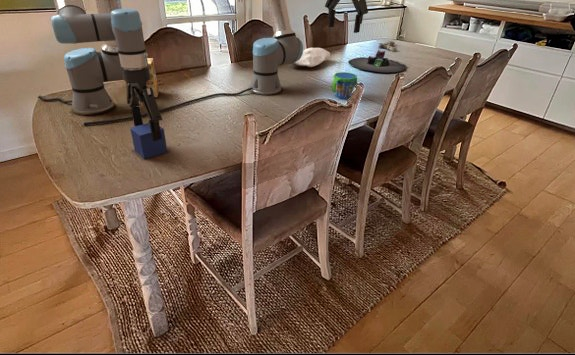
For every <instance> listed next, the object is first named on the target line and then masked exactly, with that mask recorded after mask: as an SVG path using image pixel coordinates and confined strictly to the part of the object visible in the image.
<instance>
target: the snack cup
mask: <svg viewBox="0 0 575 355" xmlns="http://www.w3.org/2000/svg"><path fill="white" fill-rule="evenodd" d="M333 78H334V79H333V81H332V83H331V88H330V91H331V92H332V93H335V97H337V98H339V99H345V100H347V99H350V98H351V97H350V95H351V93H352V94H353V91H354V88H356V87H355V85H356V84H357V85H358V76H357V74H354V73H352V72H345V71H343V72H342V71H339V72H336V73H334V74H333ZM351 96H352V95H351ZM349 97H350V98H349Z"/></svg>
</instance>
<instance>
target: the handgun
mask: <svg viewBox="0 0 575 355" xmlns="http://www.w3.org/2000/svg"><path fill="white" fill-rule="evenodd" d="M395 43H396V42H395V41H393V40H389V41H386V42H384V43H383V42H379V43H378V48H380V49H381V48H384V49H386V50H390V51H392V52H396V51H397V49H398V48H397V47H395V45H396V44H395Z"/></svg>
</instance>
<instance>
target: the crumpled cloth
mask: <svg viewBox="0 0 575 355" xmlns="http://www.w3.org/2000/svg"><path fill="white" fill-rule="evenodd" d="M330 56H331V52H330V51H328V50H326V49H325V48H322V47H308V48H306V49H303V54H302V56H301V58H300V59H299V60H298V61H297V62H294V63H291V64H290V65H296V66H300V67H307V68H313V67H317V66H318V65H320V64H322V63H323V62H324V61H325V60H327V59H328V58H330Z"/></svg>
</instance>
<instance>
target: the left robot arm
mask: <svg viewBox="0 0 575 355" xmlns="http://www.w3.org/2000/svg"><path fill="white" fill-rule="evenodd" d="M94 1H95V7H96V11H97V13H87V11H86V8H85V4H84V2H83V0H53V4H54V7H55V11H56V14H54V15H51V16H50V22H51V26H52V30H53V34H54V37H55V39H56V41H57V43H59V44H71V45H72V44H73V45H74V44H75V45H76V44H83V43H96V42H97V43H98V42H103V44H102V45H101V46H100V50H101V51H97V50H96V49H95V47H82V48H78V49H77V48H76V49H74V50H71V51H68V52H67V53H65V54H64V56H63V62H64V67H65V69H66V72H67V76H68V79H69V83H70V88H71V90H72V99H70V100H65V99H63V98H61V97H53V98H45V97H44V96H43V95H40V94H39V95H38V96H37V99H41V100H43V101H45V102H52V101H53V102H54V101H61V102H62V103H65V104H69V103H72V104H71V108H72V112H73V113H74V114H76V115H81V116H95V115H101V114H103V113H107V112H109V111H111V110H112V109H113V108H114V106H115V105H114V100H113V99H112V98H111V96H110V95H109V93H108V91H107V89H106V87H105V84H104V83H109V82H118V81H124V82H125V84H126V104H127V105H128V106H129V108H130V112H131V116H133V119H132V120H133V127H135V126H139V125H142V124H144V121H143V117H142V116H141V114H142V111H141V107H140V106H141V103H142V105H143V107H144V110H145V112H146V113H147V114H148V115H147V116H148V119H149V120H148V123H150V128H151V134H152V139H153V141H157V140H160V139H162V136H161V130H160V127H161V126H160V125H161V124H160V121H163V117H162V114H161V112H160V111H159V110H160V108H159V106H158V103H157V100H156V97H154V94H153V89H152V88H148V87H147V84H146V82H147V81H149V80H150V78H151V76H150V71H149V67H148V66H147V65H148V60H147V58H148V57H149V54H148V52H147V49H146V43H145V37H144V30H143V21H142V19H141V16H140V12H139V11H138V10H137V9H132V8H123V6H122V1H121V0H94Z"/></svg>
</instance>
